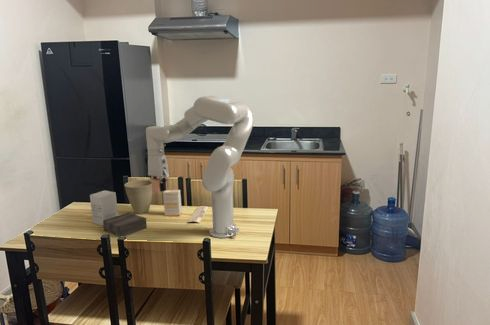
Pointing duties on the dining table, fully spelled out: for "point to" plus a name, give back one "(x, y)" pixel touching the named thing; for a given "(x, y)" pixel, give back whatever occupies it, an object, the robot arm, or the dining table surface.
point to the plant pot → (139, 195)
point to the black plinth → (124, 224)
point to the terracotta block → (156, 185)
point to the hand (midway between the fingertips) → (159, 189)
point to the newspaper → (198, 214)
